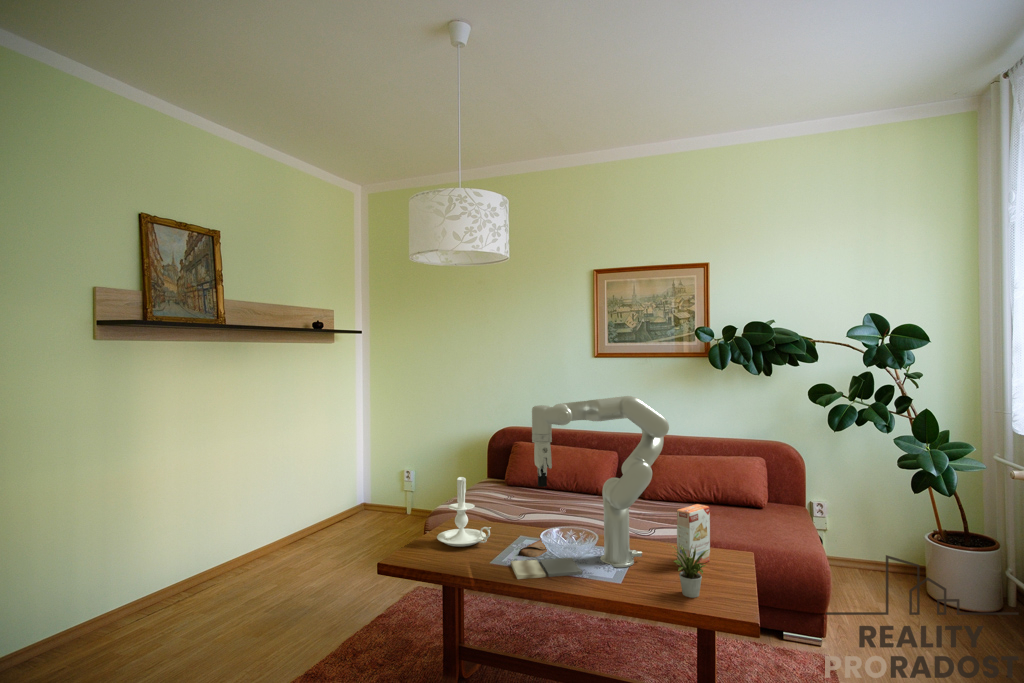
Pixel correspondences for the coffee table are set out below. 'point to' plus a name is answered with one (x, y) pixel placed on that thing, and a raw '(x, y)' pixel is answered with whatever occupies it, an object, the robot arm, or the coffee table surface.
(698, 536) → the cracker box
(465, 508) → the candlestick
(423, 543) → the coffee table surface
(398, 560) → the coffee table surface
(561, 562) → the floor board
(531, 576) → the ash plank
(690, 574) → the house plant
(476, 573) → the coffee table surface
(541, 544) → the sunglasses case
